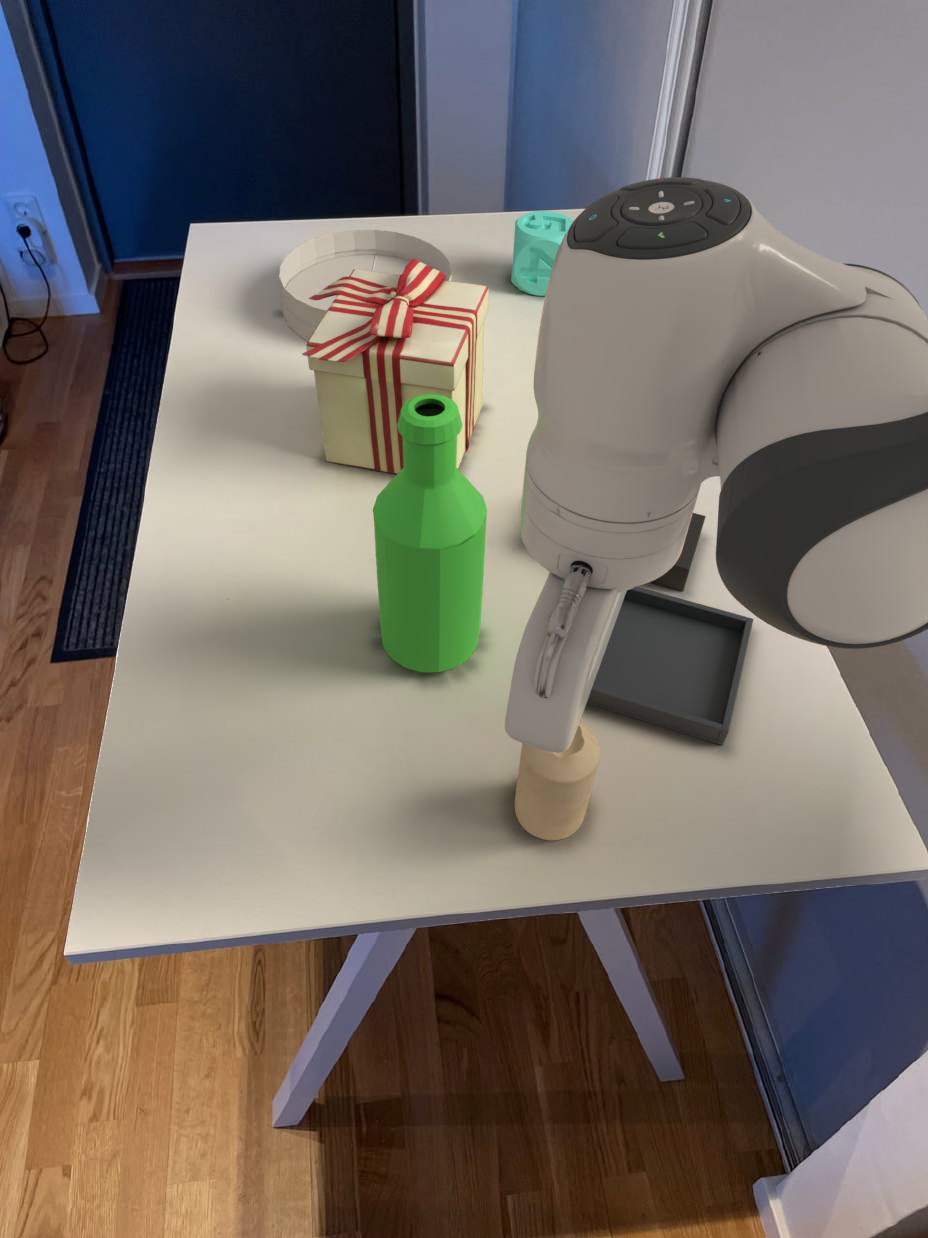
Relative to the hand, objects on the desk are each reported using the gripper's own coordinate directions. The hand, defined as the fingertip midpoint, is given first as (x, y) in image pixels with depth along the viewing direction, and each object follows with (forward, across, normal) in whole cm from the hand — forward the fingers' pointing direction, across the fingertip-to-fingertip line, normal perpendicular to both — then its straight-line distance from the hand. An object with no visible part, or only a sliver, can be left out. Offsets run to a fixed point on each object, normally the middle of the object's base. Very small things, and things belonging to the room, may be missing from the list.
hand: (574, 671), depth 59 cm
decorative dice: (+17, +77, +25) cm, 83 cm away
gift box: (+17, +38, +30) cm, 52 cm away
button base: (+17, +31, +2) cm, 35 cm away
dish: (+17, +62, +44) cm, 78 cm away
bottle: (+17, +12, +15) cm, 26 cm away
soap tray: (+17, +17, -5) cm, 25 cm away
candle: (+17, 0, 0) cm, 17 cm away
